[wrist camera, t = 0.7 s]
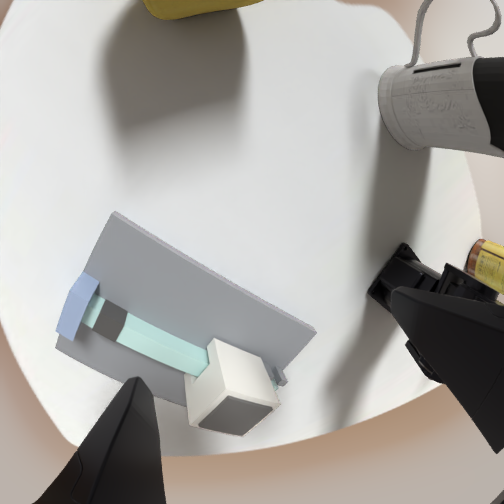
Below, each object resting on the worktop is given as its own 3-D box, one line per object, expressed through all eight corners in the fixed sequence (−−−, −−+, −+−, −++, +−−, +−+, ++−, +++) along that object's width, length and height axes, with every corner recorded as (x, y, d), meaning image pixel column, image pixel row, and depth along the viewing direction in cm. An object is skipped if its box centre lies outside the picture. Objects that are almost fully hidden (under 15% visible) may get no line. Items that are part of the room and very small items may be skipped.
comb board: (312, 326, 25) (331, 352, 21) (230, 412, 27) (237, 439, 23) (115, 210, 17) (99, 224, 13) (58, 341, 19) (45, 369, 15)
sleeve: (260, 357, 23) (282, 407, 18) (229, 390, 24) (243, 439, 18) (213, 337, 21) (226, 392, 16) (184, 374, 22) (189, 428, 16)
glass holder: (399, 164, 21) (545, 200, 8) (331, 24, 16) (469, -42, 2) (444, 133, 22) (561, 152, 8) (391, 14, 16) (506, -19, 2)
